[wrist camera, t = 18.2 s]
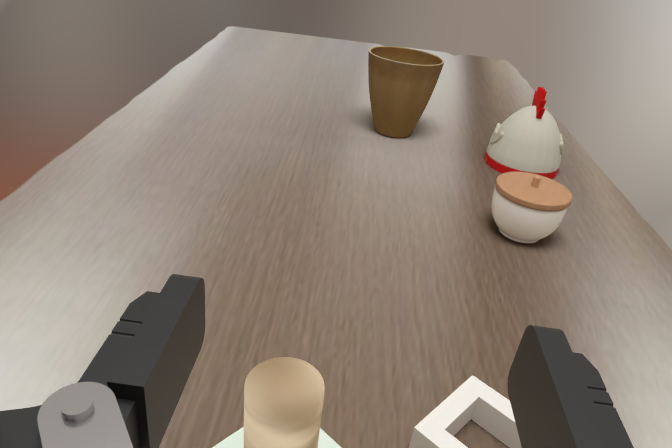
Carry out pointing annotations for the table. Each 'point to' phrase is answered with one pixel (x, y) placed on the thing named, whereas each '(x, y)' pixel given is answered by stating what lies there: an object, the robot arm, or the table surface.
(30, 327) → the table surface
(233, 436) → the tray
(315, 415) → the dowel
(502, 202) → the lidded jar
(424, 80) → the plant pot
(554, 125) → the chicken shaped dome
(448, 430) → the holder block
